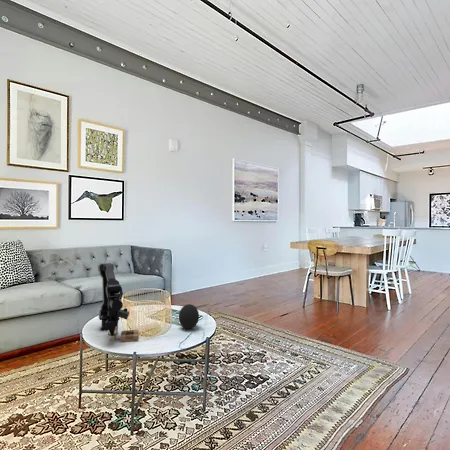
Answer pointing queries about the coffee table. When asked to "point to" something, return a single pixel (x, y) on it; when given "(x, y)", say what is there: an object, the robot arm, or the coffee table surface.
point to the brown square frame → (129, 336)
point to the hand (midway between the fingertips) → (113, 333)
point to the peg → (114, 333)
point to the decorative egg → (188, 316)
